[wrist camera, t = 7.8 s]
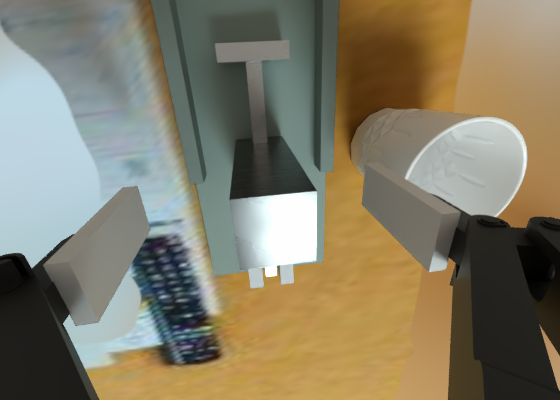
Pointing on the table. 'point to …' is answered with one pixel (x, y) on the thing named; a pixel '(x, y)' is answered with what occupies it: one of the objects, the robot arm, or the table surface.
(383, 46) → the table surface
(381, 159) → the white cup
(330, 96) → the grey-green piece
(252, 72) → the grey t-handle tool
